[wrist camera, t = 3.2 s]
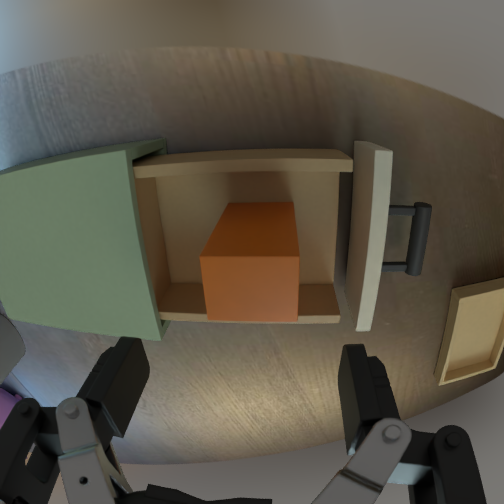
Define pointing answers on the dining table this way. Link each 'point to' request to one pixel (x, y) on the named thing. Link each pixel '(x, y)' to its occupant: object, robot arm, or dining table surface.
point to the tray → (472, 331)
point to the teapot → (6, 404)
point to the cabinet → (78, 243)
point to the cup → (9, 347)
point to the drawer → (274, 190)
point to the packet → (252, 264)
